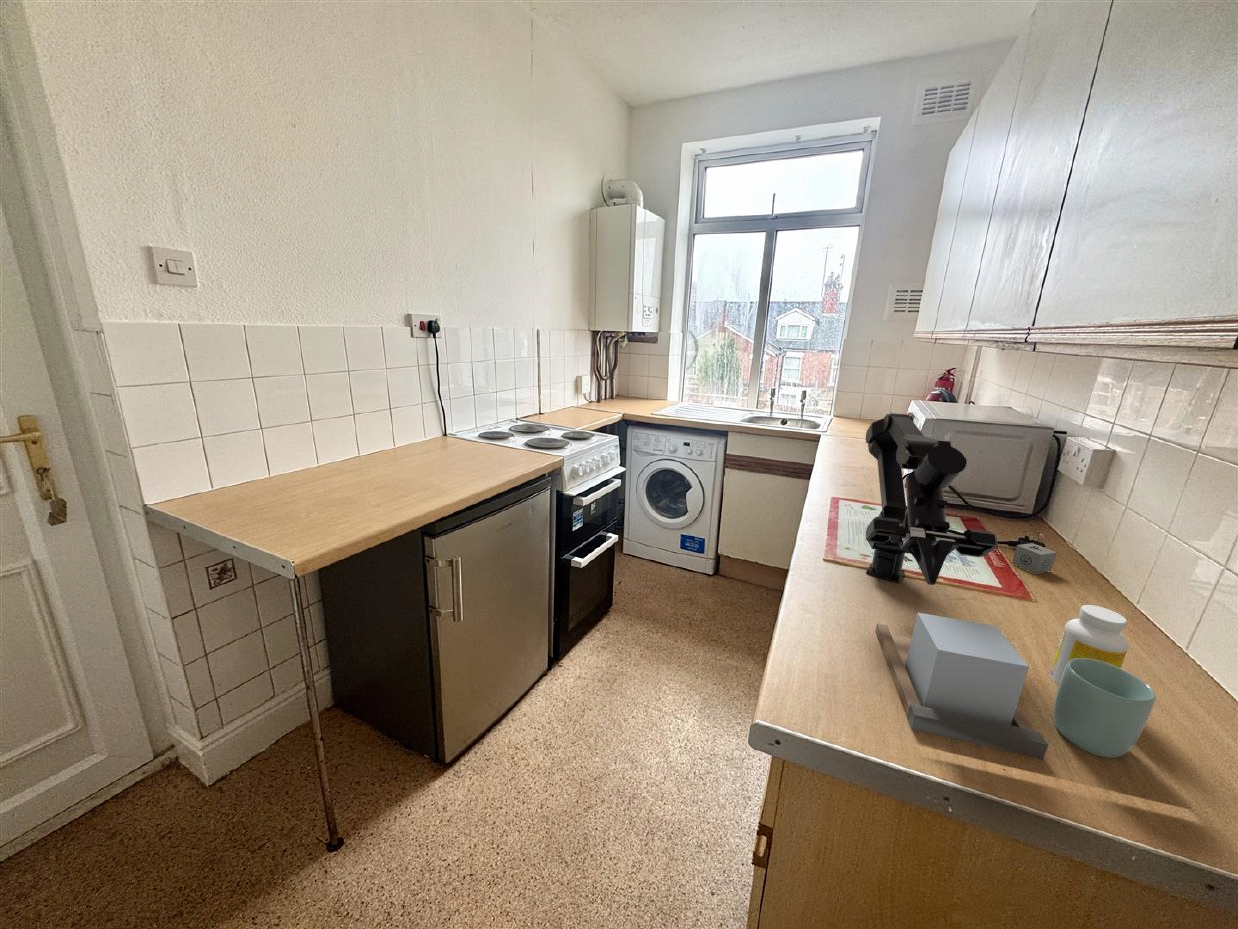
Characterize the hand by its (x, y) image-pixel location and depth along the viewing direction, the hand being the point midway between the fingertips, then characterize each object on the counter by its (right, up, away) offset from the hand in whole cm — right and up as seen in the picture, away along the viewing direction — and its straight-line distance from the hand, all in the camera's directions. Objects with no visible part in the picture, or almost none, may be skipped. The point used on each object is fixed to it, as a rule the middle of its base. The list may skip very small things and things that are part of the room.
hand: (931, 584), depth 79 cm
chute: (-4, -13, -9) cm, 16 cm away
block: (-5, -13, -12) cm, 18 cm away
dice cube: (+43, -4, +30) cm, 53 cm away
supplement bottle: (+17, -14, -8) cm, 23 cm away
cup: (+8, -16, -18) cm, 25 cm away
